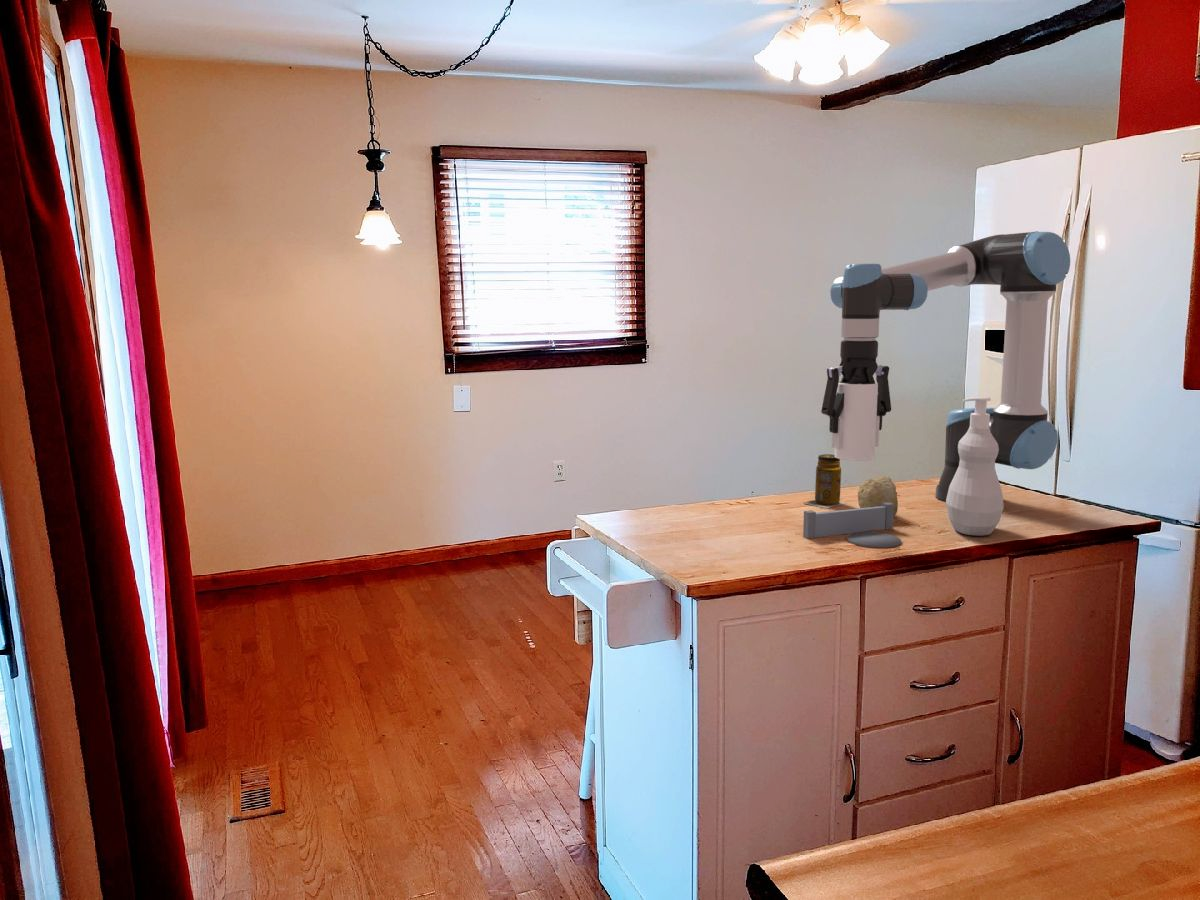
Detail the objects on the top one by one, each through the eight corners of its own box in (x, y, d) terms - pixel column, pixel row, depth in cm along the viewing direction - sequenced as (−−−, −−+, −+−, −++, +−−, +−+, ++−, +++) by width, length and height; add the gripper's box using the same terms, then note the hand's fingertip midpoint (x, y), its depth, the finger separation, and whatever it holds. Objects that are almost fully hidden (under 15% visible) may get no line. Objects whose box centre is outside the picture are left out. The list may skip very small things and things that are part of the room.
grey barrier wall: (887, 526, 199) (888, 502, 198) (892, 528, 198) (893, 504, 197) (803, 536, 192) (803, 511, 191) (807, 538, 190) (808, 512, 189)
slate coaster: (879, 531, 195) (879, 530, 195) (912, 544, 185) (912, 542, 185) (836, 536, 191) (836, 534, 191) (868, 550, 181) (868, 548, 181)
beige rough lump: (915, 491, 203) (876, 474, 202) (894, 530, 206) (855, 513, 205) (902, 479, 212) (865, 463, 212) (882, 516, 215) (845, 500, 214)
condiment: (846, 503, 222) (848, 455, 220) (828, 508, 217) (830, 460, 215) (821, 498, 228) (823, 452, 226) (802, 504, 222) (804, 456, 220)
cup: (859, 462, 184) (862, 385, 182) (826, 457, 191) (829, 382, 188) (882, 457, 190) (885, 382, 187) (849, 452, 196) (852, 379, 193)
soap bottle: (941, 520, 205) (948, 392, 200) (995, 523, 202) (1004, 393, 197) (947, 539, 189) (956, 401, 184) (1007, 543, 186) (1017, 402, 181)
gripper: (891, 337, 193) (886, 441, 196) (805, 339, 186) (802, 447, 190) (913, 338, 185) (908, 446, 189) (825, 341, 179) (821, 452, 183)
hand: (855, 446), depth 190 cm, fingers closed on cup, 8 cm apart
